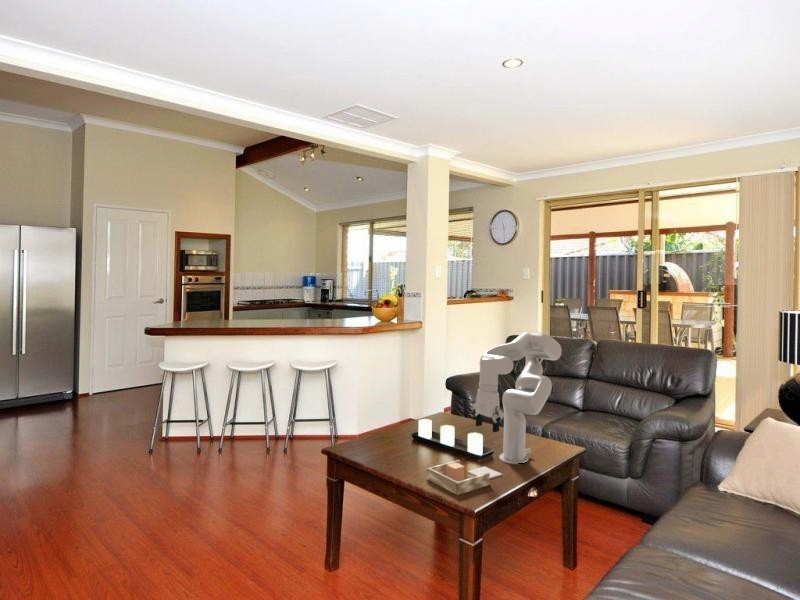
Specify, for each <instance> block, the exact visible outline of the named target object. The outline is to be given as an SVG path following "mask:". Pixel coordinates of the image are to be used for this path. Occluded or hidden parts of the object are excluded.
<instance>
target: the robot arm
mask: <svg viewBox="0 0 800 600" xmlns="http://www.w3.org/2000/svg"><path fill="white" fill-rule="evenodd" d="M562 350H563V349H562V346H561V344H560V343H559V342H558V341H557V340H556V339H554V338H553V337H552V336H551V335H549V334H547V333H544V332H537V331H525V332H522V333H521V334H520V335H518V336H517V337H516V338H514V339H513V340H512V341H510V342H508V343H503V344H501V345H497V346H493V347H492V348H490V349H488V350H487V351H486V352H484V353H483V354H482V356H481V357H480V358H479V383H478V389H477V392H476V396H475V403H473V404H471V406H472V411H473V413H474V417H475V427H481V426H483V417H486V418H492V420H493V422H492V433H498V432H499V431H500V423H501V422H502V421H503V441H502V442H503V444H502V450H503V451H502V453H501V454H500V455H499V456H498V457H499V460H500V461H501V462H503V463H506V464H510V465H519V464H518V463H525V462H527V461H528V462H529V457H528V456H527V454H530V453H532V449H531V448H530V447H528V448H526V431H527V430H526V429H527V427H526V426H527V423H526V422H527V420H526V417H525V414H526V415H534V416H536V415H538V414H539V413H540V412H541V410H543V407H544V406H545V404H546V402H547V400H548V398H549V396H550V395H551V391H552V388H553V387H552V380H551V379H550V378H549V377H548V376H546V375H543V374H544V373H543V372H544V370H543V369H544V368H543V366H542V363H541V362H540V361H539V360H540V359H541V360H549V361H557V360H559V359H560V358H561V356H562ZM524 357H525V365H524V367H523V369H522V371H521V372H520V374H519V376H518V377H517V378H516V381H515V388H509V389H507V390H505V391H504V392H503V395H502V400H501V401H502V406H503V410H502V409H501V408H500V394H499V391H498V389H499V375H507V374H510V373H511V372H512V371H513V369H514V366H515V365H514V361H520V360H522V359H524ZM528 462H527V463H528ZM525 464H526V463H525Z"/></svg>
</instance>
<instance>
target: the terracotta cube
mask: <svg viewBox="0 0 800 600" xmlns="http://www.w3.org/2000/svg"><path fill="white" fill-rule="evenodd" d="M465 469H466V467H465V465H462V464H461V463H460V464H458V463H456V462H455V463H452V464H448V465H447V466H446V475H445V476H447V477H449V478H451V479H454V480H456V481H458V482H459V481H462V480H465Z"/></svg>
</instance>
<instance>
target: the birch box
mask: <svg viewBox="0 0 800 600" xmlns="http://www.w3.org/2000/svg"><path fill="white" fill-rule="evenodd" d="M455 462H456V463H458V464H461V459H460V460H459V459H456V460H453V461H449V462H445V463H441V464H438V465H434V466H431V467H427V468H426V480H427V481H429V482H431V483H434V484H435V485H437V486H439V487H441V488H443V489H445V490H447V491H448V492H451V493H453V494H455V495H457V496H459V495H462V494H465V493H469V492H471V491H475V490H478V489H481V488H483V487H488V486H489V485H490V484H491V479H490V473H486V474H482V475H479V476H473V477H469V478H464V480H462V481H459V482H458V481H456V480H454V479H451V478H449V477H447V476H446V466H447V465H448V464H452V463H455Z"/></svg>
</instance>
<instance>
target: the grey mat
mask: <svg viewBox="0 0 800 600" xmlns="http://www.w3.org/2000/svg"><path fill="white" fill-rule="evenodd" d="M486 473H490V480H491V479H495V478H498V477H502V476H503V473H501V472H499V471H496V470H494V469H492V468H489V467H487V466H480V467H478V468H474V469H471V470H467V474H469V475H471V476H473V477H475V476H479V475H482V474H486Z"/></svg>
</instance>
